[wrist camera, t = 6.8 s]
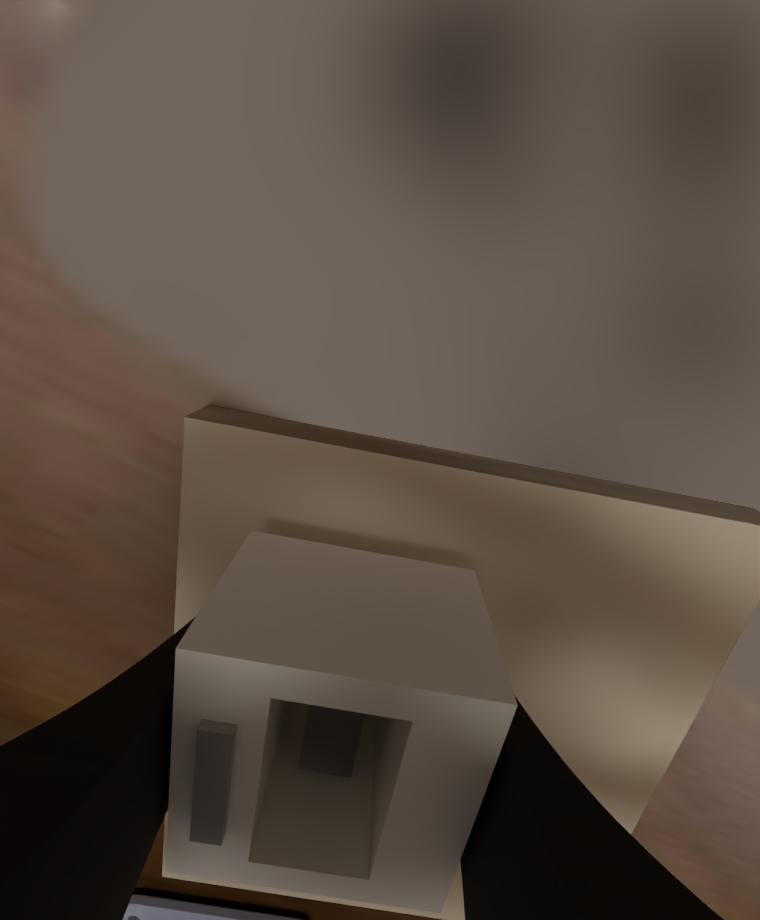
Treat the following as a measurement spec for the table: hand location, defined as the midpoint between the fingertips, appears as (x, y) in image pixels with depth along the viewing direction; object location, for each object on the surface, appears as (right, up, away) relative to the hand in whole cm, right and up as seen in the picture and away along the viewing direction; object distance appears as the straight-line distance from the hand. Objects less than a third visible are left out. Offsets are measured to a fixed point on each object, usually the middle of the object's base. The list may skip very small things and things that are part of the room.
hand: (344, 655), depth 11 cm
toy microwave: (0, 0, 0) cm, 0 cm away
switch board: (+2, -3, +4) cm, 6 cm away
